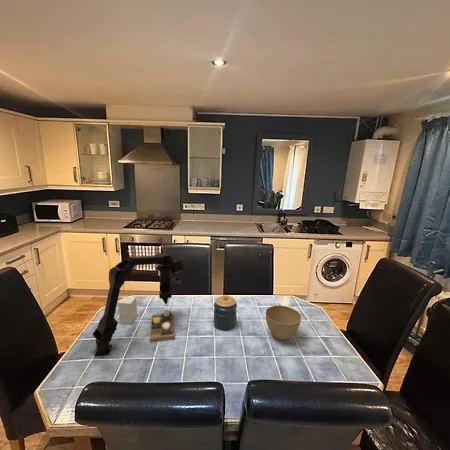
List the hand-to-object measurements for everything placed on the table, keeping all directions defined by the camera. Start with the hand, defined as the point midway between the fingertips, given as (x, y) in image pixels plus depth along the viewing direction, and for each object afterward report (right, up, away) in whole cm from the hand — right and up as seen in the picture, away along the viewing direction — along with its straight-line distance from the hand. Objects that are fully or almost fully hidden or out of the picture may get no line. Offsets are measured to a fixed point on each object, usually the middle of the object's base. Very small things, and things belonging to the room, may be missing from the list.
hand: (166, 302), depth 140 cm
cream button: (+2, -11, -10) cm, 15 cm away
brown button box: (-1, -13, -4) cm, 14 cm away
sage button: (0, -8, +2) cm, 8 cm away
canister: (+33, -13, +1) cm, 35 cm away
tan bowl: (+63, -15, -7) cm, 65 cm away
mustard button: (-4, -10, -5) cm, 11 cm away
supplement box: (-22, -11, +3) cm, 25 cm away
